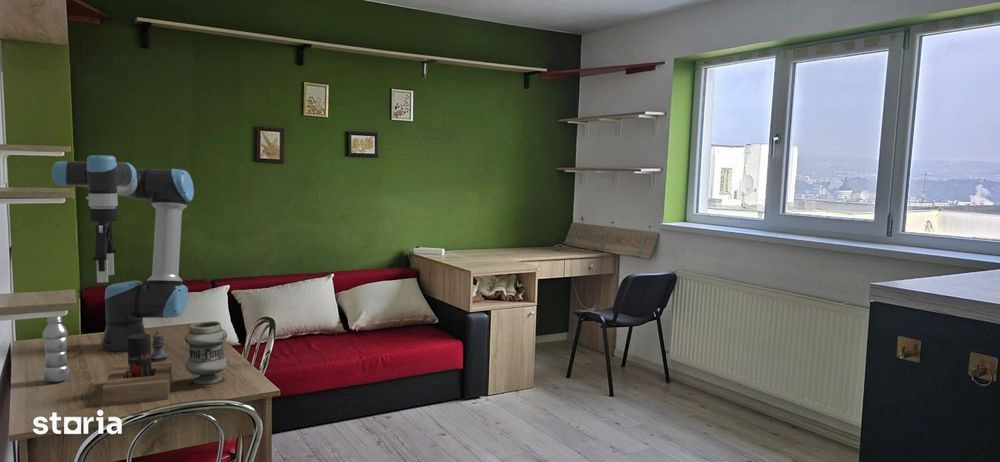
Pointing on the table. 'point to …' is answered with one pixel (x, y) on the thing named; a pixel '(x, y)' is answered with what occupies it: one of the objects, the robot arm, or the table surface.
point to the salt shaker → (158, 349)
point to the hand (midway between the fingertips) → (106, 278)
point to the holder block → (138, 384)
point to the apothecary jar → (206, 353)
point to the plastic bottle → (55, 350)
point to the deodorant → (139, 355)
